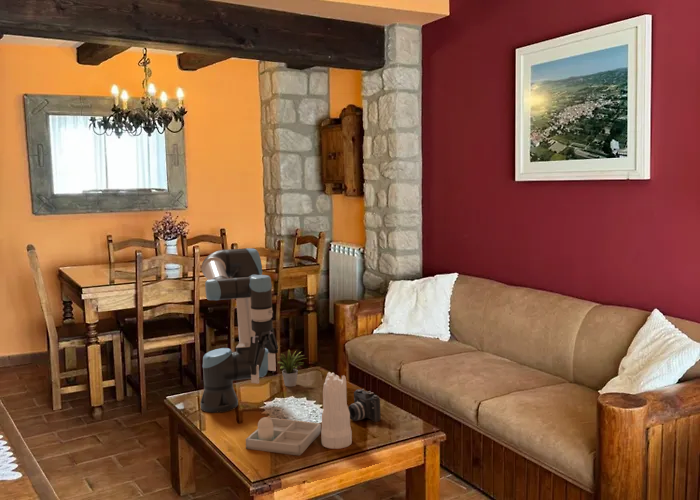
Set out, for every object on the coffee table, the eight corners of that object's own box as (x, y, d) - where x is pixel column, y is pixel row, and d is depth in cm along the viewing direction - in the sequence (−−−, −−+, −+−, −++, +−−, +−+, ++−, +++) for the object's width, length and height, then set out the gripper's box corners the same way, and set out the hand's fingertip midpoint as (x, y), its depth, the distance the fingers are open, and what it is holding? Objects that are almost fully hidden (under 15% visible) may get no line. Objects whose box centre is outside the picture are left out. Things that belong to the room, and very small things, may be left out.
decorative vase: (355, 446, 234) (353, 377, 231) (325, 450, 231) (323, 380, 228) (346, 434, 244) (345, 368, 241) (318, 438, 241) (316, 371, 238)
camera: (339, 415, 262) (338, 391, 261) (361, 409, 269) (361, 385, 267) (361, 427, 251) (360, 401, 250) (383, 420, 257) (383, 395, 256)
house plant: (292, 393, 289) (290, 356, 287) (267, 387, 297) (266, 352, 294) (311, 383, 301) (310, 348, 299) (287, 378, 308) (286, 344, 306)
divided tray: (246, 448, 234) (245, 439, 233) (270, 426, 253) (270, 417, 252) (299, 455, 227) (299, 445, 227) (321, 432, 246) (321, 423, 246)
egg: (255, 443, 235) (254, 419, 234) (262, 437, 240) (261, 414, 239) (269, 445, 233) (268, 421, 232) (276, 439, 239) (275, 415, 237)
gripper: (255, 329, 224) (257, 389, 227) (286, 311, 247) (287, 366, 250) (235, 327, 226) (237, 387, 229) (267, 310, 249) (269, 364, 253)
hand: (263, 376), depth 240 cm, fingers open, 13 cm apart
